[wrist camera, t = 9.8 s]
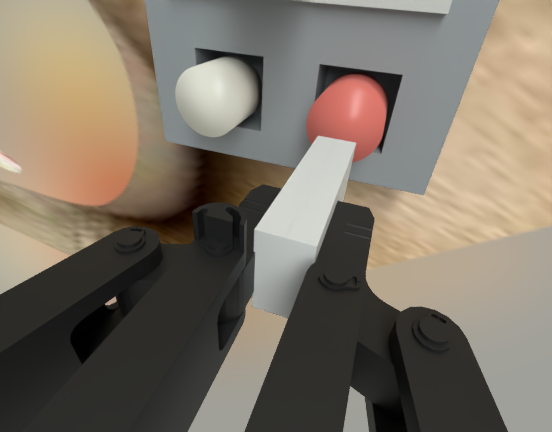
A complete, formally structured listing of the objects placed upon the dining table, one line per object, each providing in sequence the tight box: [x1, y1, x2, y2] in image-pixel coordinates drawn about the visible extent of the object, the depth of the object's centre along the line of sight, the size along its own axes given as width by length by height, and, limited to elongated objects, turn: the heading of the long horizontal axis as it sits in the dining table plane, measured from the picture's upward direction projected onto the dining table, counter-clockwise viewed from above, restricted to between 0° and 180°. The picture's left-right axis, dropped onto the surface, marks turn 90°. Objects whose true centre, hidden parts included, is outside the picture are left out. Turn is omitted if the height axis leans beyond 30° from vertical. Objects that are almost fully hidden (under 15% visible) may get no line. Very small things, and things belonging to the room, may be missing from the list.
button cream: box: [175, 55, 262, 137], centre depth 20 cm, size 4×4×4 cm
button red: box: [306, 72, 388, 162], centre depth 18 cm, size 4×4×4 cm
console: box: [145, 0, 499, 195], centre depth 19 cm, size 19×17×6 cm
